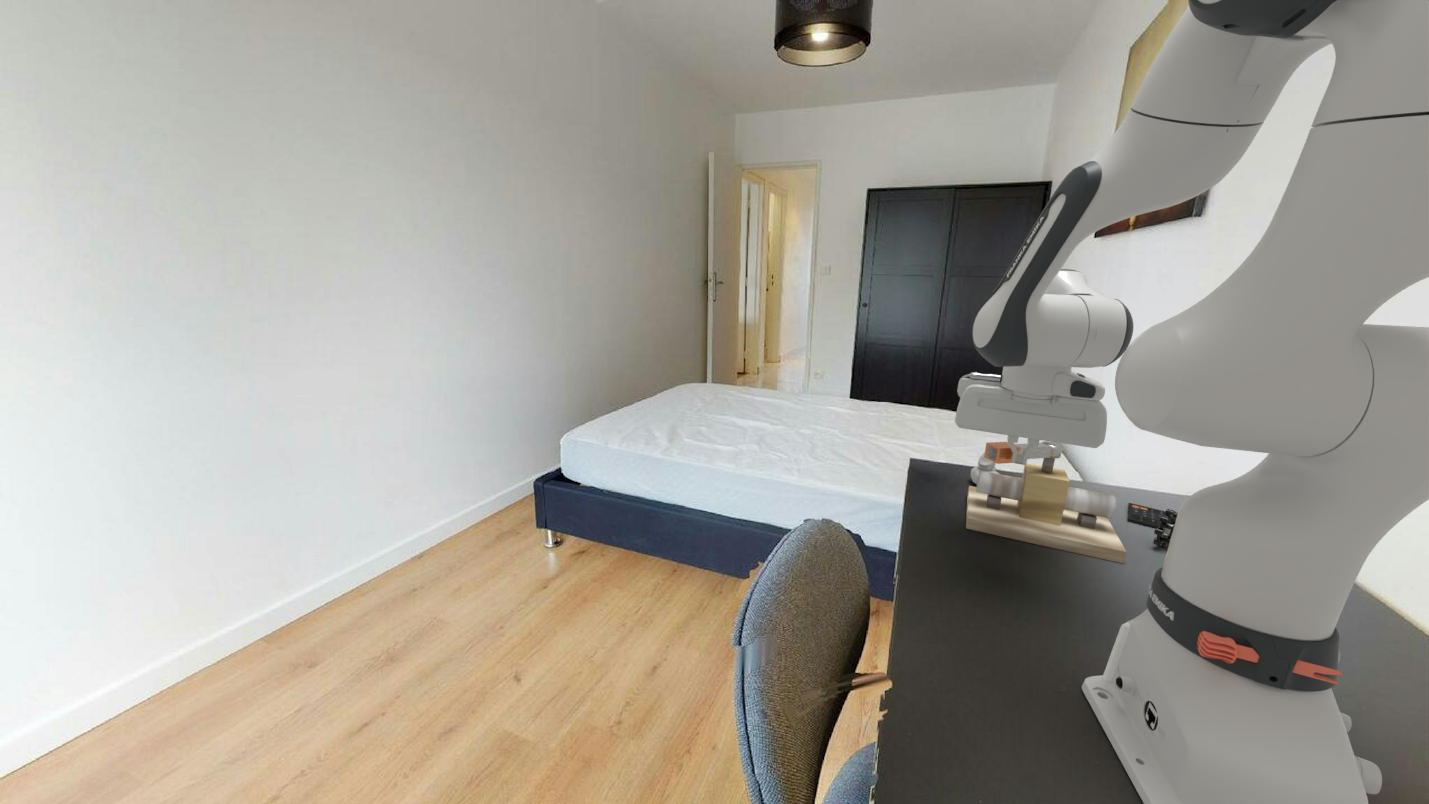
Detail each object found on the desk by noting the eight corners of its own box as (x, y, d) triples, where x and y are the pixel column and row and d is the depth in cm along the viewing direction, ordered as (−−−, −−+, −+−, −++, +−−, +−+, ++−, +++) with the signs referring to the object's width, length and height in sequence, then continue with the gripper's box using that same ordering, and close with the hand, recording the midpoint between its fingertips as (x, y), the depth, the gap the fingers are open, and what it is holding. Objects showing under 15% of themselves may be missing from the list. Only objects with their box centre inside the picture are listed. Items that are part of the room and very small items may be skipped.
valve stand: (1123, 563, 79) (1143, 486, 76) (966, 528, 88) (978, 458, 85) (1101, 521, 93) (1117, 455, 90) (967, 495, 102) (977, 434, 99)
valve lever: (1049, 453, 90) (1052, 439, 89) (1064, 459, 87) (1067, 445, 86) (983, 457, 86) (986, 442, 86) (997, 463, 83) (1000, 448, 83)
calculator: (1127, 506, 101) (1131, 492, 100) (1208, 526, 94) (1212, 511, 93) (1126, 523, 94) (1130, 507, 93) (1213, 545, 87) (1218, 529, 86)
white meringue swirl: (963, 484, 108) (969, 448, 106) (976, 477, 112) (982, 442, 110) (991, 493, 104) (997, 455, 102) (1003, 485, 108) (1010, 449, 106)
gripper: (959, 373, 81) (946, 456, 84) (1119, 390, 72) (1097, 482, 75) (961, 368, 87) (948, 446, 90) (1109, 383, 78) (1090, 469, 81)
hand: (1018, 463), depth 83 cm, fingers closed
